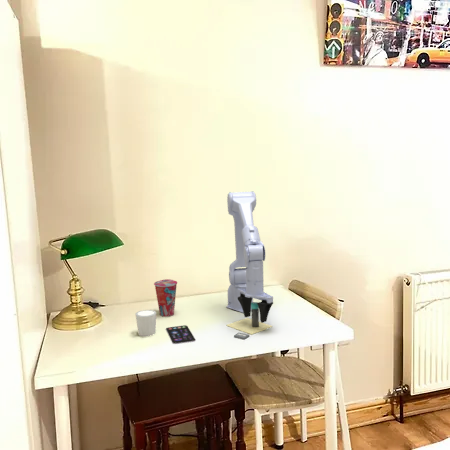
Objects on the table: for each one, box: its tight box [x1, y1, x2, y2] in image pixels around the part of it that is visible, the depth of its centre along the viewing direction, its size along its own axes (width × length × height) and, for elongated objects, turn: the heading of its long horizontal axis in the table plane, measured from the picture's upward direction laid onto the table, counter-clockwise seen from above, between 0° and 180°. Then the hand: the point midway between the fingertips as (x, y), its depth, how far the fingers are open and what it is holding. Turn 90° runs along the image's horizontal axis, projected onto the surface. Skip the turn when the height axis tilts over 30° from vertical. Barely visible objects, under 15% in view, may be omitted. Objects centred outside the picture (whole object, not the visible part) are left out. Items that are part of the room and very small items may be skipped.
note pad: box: [226, 317, 273, 336], centre depth 172 cm, size 12×10×1 cm
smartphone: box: [165, 324, 196, 345], centre depth 166 cm, size 8×1×15 cm
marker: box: [251, 301, 260, 327], centre depth 170 cm, size 3×3×8 cm
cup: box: [153, 278, 178, 318], centre depth 185 cm, size 9×8×12 cm
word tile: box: [233, 332, 250, 340], centre depth 162 cm, size 4×3×1 cm
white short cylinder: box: [135, 309, 157, 337], centre depth 167 cm, size 7×7×7 cm
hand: (255, 319), depth 170 cm, fingers open, 7 cm apart
